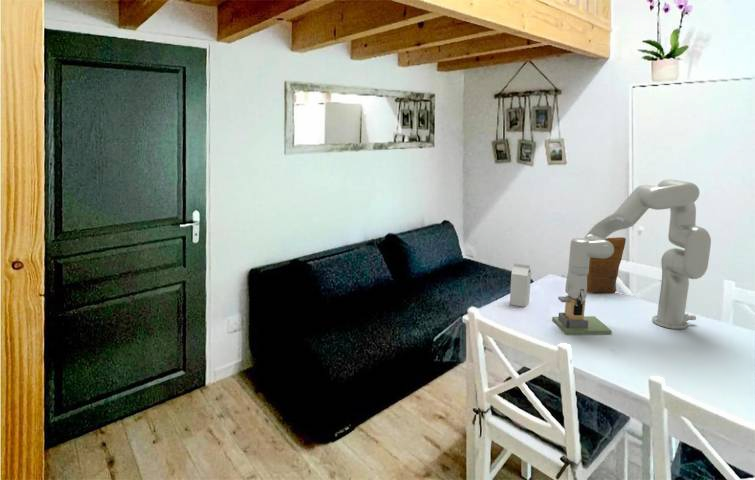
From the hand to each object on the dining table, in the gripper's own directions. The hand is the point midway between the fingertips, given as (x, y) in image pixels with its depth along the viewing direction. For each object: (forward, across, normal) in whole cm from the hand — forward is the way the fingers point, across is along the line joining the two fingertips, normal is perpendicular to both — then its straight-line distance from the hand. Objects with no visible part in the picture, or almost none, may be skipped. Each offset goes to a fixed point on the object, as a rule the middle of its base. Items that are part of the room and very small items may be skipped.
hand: (574, 311), depth 194 cm
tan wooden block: (+3, 0, -2) cm, 4 cm away
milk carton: (+7, -28, -14) cm, 32 cm away
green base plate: (+7, 0, +3) cm, 7 cm away
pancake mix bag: (+7, -42, +31) cm, 53 cm away
